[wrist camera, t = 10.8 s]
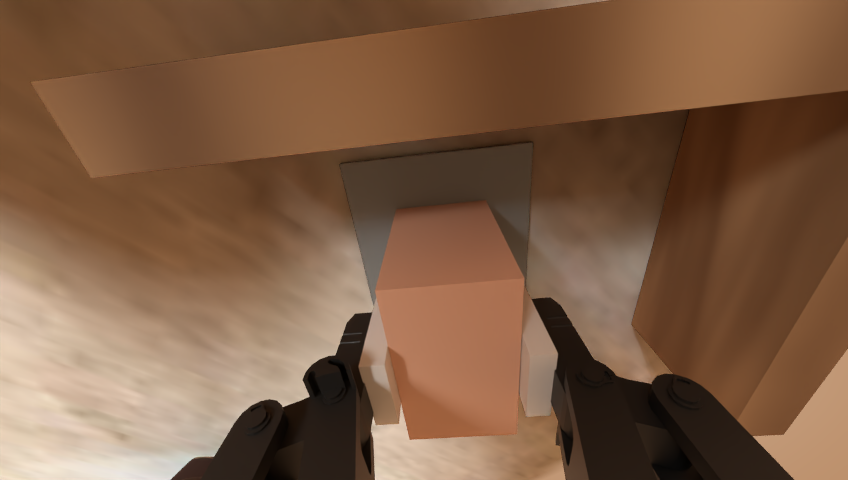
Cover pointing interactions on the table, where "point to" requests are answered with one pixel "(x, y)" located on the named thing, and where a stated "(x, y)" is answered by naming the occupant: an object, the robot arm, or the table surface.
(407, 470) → the table surface
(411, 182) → the pad
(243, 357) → the table surface
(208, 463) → the mug
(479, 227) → the block
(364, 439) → the robot arm
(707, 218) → the corner walls
